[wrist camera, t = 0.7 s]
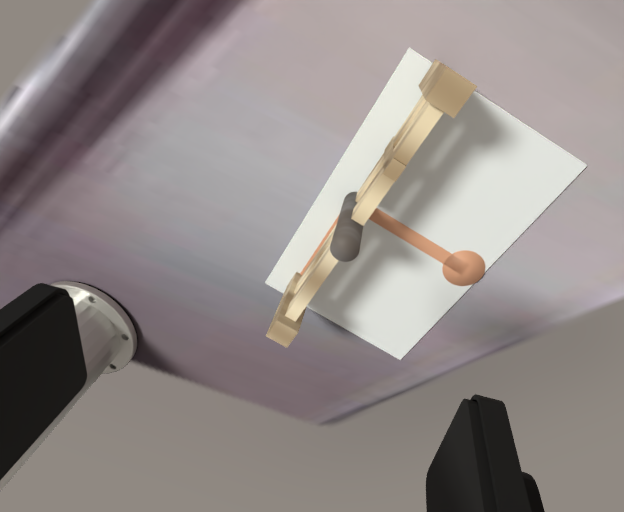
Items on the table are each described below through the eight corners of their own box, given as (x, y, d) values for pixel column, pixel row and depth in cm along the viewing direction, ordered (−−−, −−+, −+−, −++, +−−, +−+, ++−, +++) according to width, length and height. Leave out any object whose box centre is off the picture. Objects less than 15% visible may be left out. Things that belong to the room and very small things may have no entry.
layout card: (401, 359, 43) (401, 360, 43) (265, 282, 41) (264, 283, 41) (587, 165, 31) (589, 166, 31) (409, 47, 30) (409, 47, 30)
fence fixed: (304, 294, 41) (284, 355, 34) (287, 284, 41) (262, 343, 33) (371, 198, 36) (365, 245, 28) (351, 186, 35) (339, 230, 28)
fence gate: (373, 197, 35) (368, 235, 28) (353, 185, 35) (343, 220, 28) (458, 74, 30) (477, 86, 23) (435, 59, 29) (447, 66, 23)
